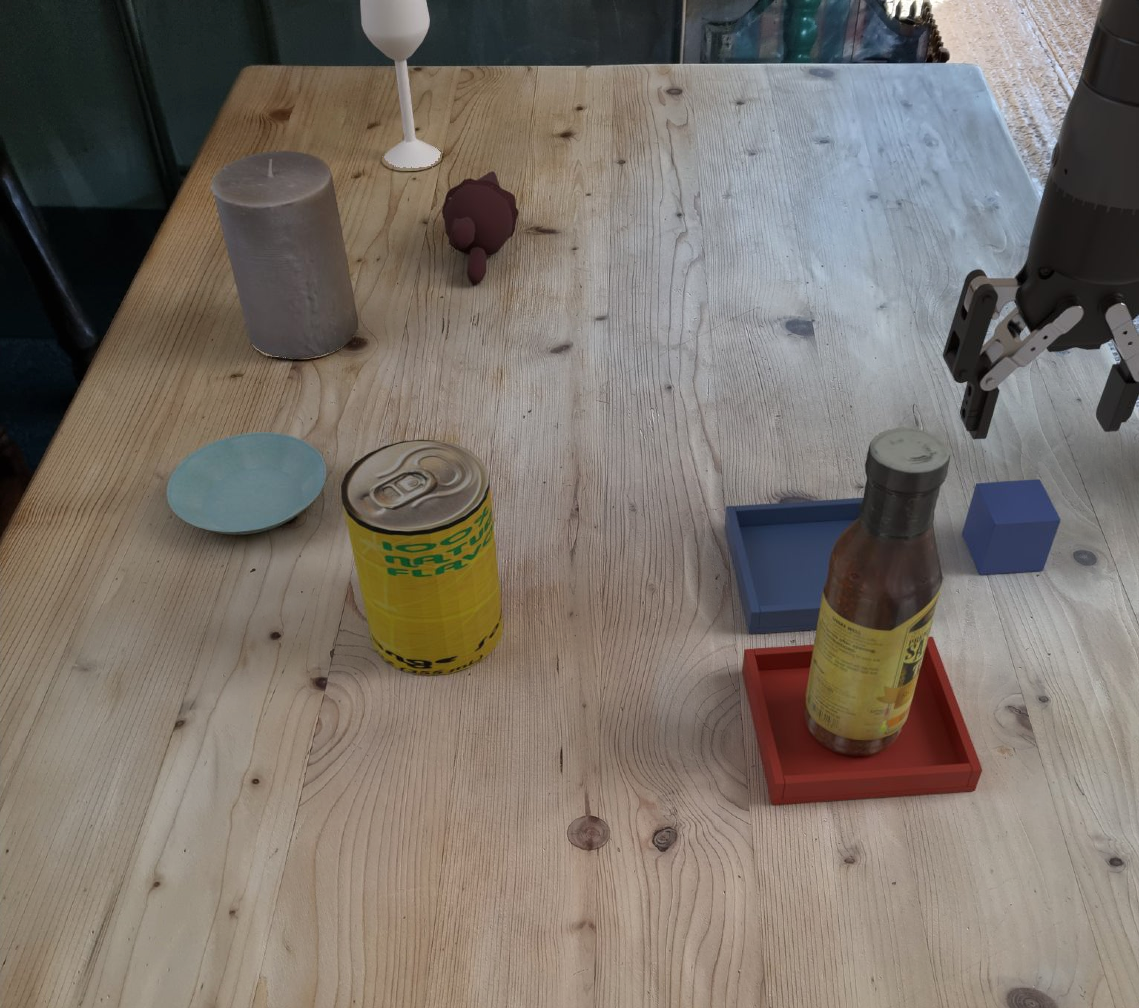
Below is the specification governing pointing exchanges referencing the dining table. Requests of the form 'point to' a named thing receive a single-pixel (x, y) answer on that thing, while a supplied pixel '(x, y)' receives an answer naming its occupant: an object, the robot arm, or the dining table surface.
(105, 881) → the dining table surface
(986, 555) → the blue block
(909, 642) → the sauce bottle
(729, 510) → the blue tray
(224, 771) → the dining table surface
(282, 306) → the pillar candle
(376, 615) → the beverage can
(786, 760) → the red tray
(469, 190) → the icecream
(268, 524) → the saucer
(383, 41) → the champagne flute
